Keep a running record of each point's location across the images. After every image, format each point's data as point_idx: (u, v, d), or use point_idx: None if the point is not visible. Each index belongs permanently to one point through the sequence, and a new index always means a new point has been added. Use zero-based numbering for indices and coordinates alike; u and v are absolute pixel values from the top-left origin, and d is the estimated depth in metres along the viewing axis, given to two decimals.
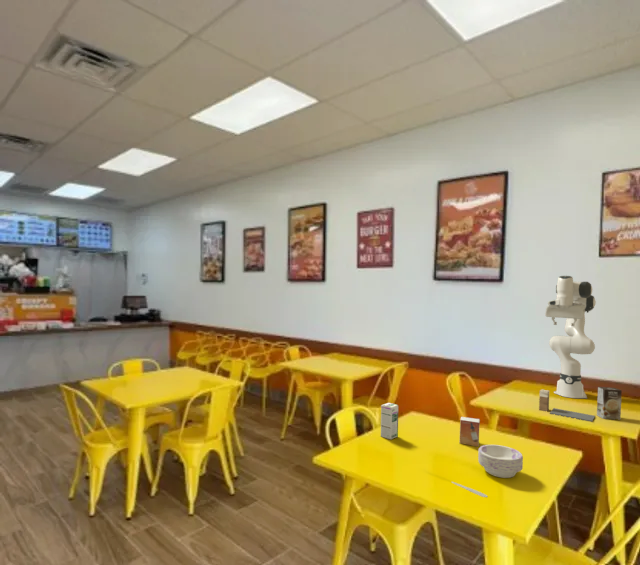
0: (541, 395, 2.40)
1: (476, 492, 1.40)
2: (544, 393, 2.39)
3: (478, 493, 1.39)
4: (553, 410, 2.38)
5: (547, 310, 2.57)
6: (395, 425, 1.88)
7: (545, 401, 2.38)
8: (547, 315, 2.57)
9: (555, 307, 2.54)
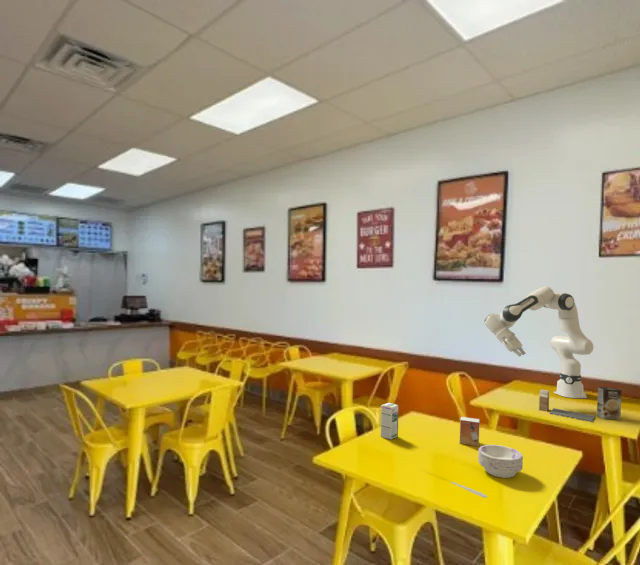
0: (541, 395, 2.40)
1: (476, 492, 1.40)
2: (544, 393, 2.39)
3: (478, 493, 1.39)
4: (553, 410, 2.38)
5: None
6: (395, 425, 1.88)
7: (545, 401, 2.38)
8: None
9: None
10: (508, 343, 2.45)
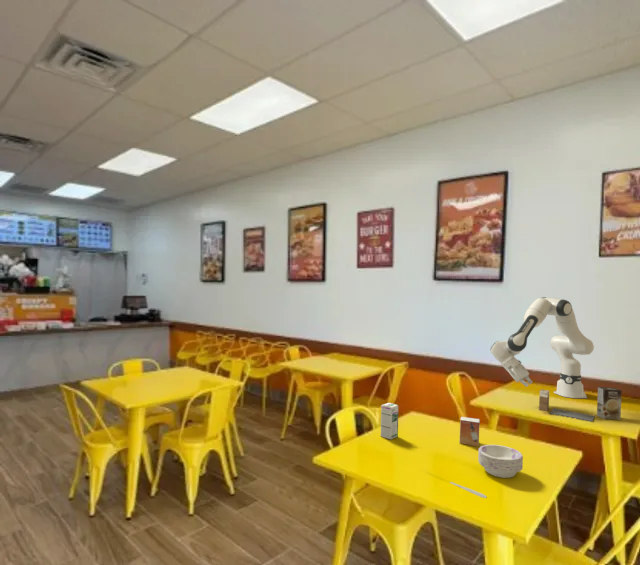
0: (541, 395, 2.40)
1: (475, 492, 1.40)
2: (544, 393, 2.39)
3: (477, 493, 1.39)
4: (553, 410, 2.38)
5: None
6: (395, 425, 1.88)
7: (545, 401, 2.38)
8: None
9: None
10: (514, 373, 2.42)
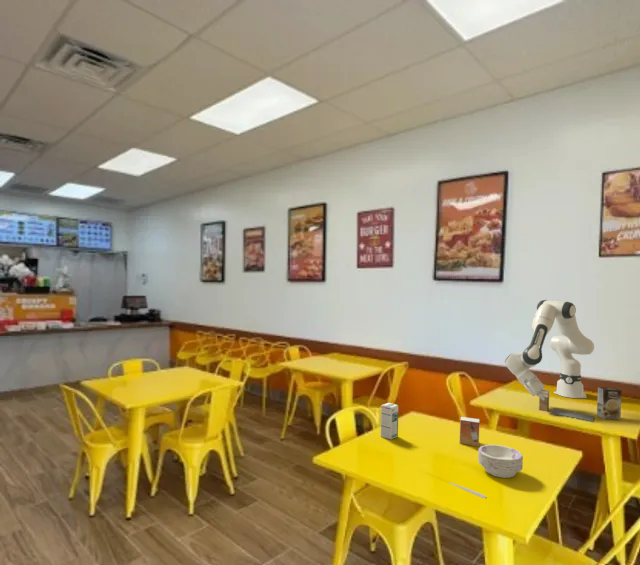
0: None
1: (475, 493, 1.39)
2: (544, 393, 2.39)
3: (477, 494, 1.39)
4: (553, 410, 2.38)
5: None
6: (395, 425, 1.88)
7: (545, 401, 2.38)
8: None
9: None
10: (530, 387, 2.37)
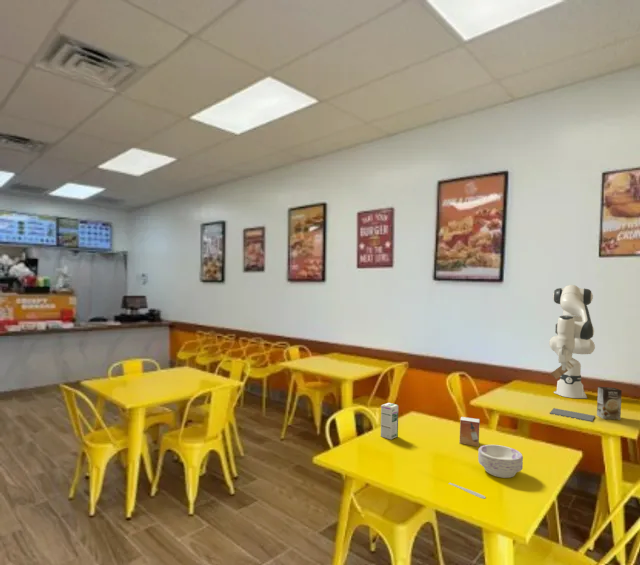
0: None
1: (474, 493, 1.39)
2: (568, 366, 2.32)
3: (476, 494, 1.39)
4: (553, 410, 2.38)
5: None
6: (395, 425, 1.88)
7: (563, 372, 2.33)
8: None
9: None
10: (564, 355, 2.27)
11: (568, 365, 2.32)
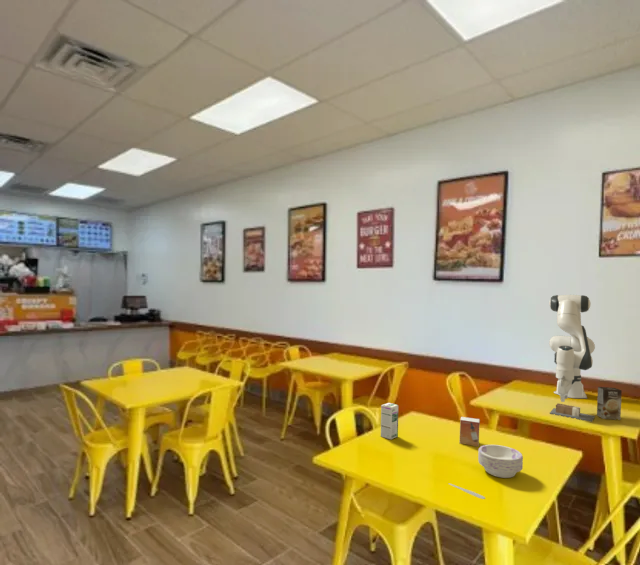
0: (573, 410, 2.30)
1: (473, 494, 1.39)
2: (576, 413, 2.29)
3: (475, 495, 1.38)
4: (553, 410, 2.38)
5: None
6: (395, 425, 1.88)
7: (567, 412, 2.32)
8: None
9: None
10: (563, 387, 2.27)
11: (576, 412, 2.29)
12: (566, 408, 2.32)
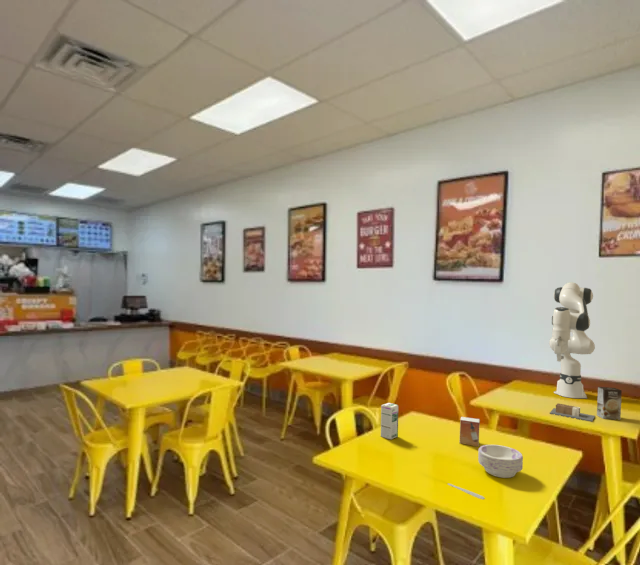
0: (573, 410, 2.30)
1: (473, 494, 1.39)
2: (576, 413, 2.29)
3: (475, 495, 1.38)
4: (553, 410, 2.38)
5: None
6: (395, 425, 1.88)
7: (567, 412, 2.32)
8: None
9: None
10: (559, 346, 2.30)
11: (576, 412, 2.29)
12: (566, 408, 2.32)
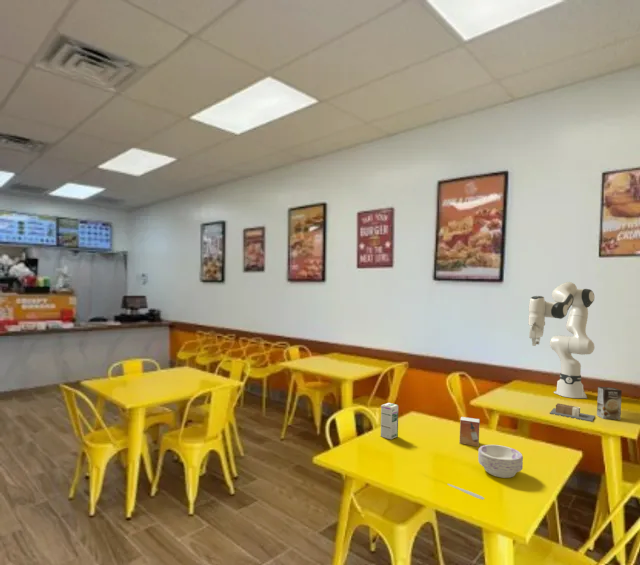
0: (573, 410, 2.30)
1: (473, 494, 1.39)
2: (576, 413, 2.29)
3: (475, 495, 1.38)
4: (553, 410, 2.38)
5: None
6: (395, 425, 1.88)
7: (567, 412, 2.32)
8: None
9: None
10: (534, 331, 2.49)
11: (576, 412, 2.29)
12: (566, 408, 2.32)
